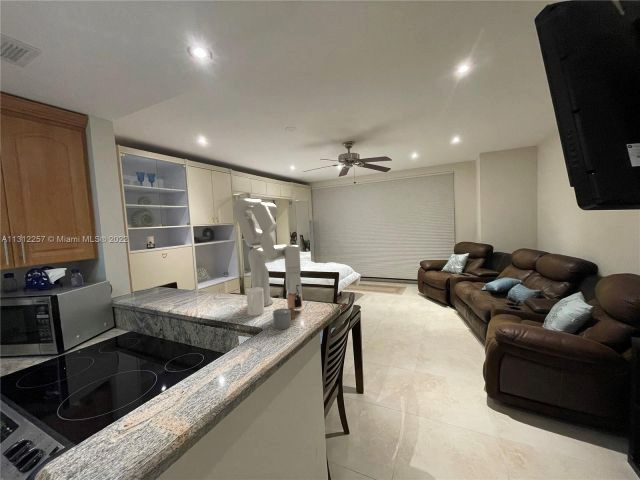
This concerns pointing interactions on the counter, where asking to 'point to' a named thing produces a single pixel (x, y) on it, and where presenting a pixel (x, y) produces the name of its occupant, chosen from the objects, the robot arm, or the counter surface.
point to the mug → (255, 301)
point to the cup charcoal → (282, 318)
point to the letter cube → (292, 313)
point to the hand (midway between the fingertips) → (294, 304)
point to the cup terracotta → (292, 301)
